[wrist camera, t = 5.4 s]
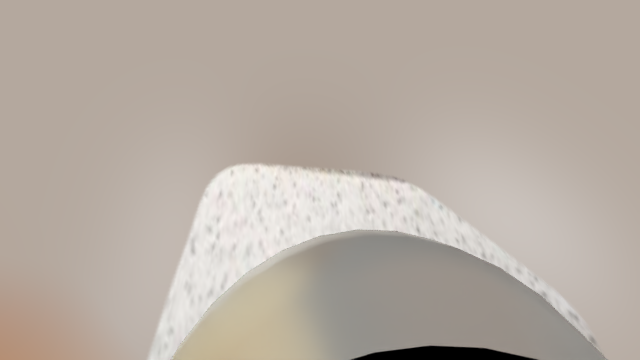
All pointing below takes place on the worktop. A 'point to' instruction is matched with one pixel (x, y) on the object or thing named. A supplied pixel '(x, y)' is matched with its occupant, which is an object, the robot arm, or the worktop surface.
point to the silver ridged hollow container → (381, 307)
